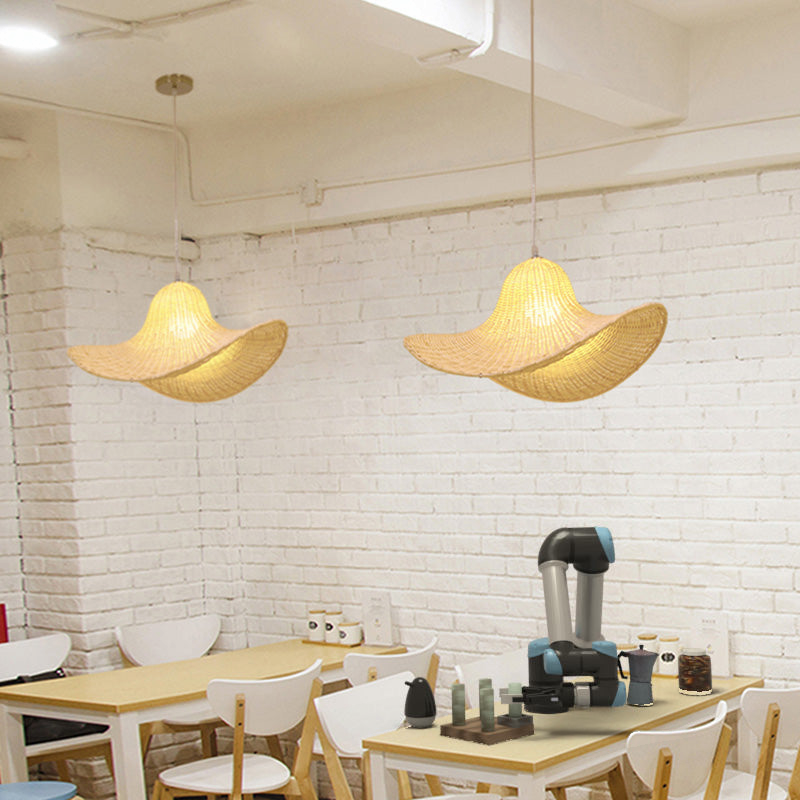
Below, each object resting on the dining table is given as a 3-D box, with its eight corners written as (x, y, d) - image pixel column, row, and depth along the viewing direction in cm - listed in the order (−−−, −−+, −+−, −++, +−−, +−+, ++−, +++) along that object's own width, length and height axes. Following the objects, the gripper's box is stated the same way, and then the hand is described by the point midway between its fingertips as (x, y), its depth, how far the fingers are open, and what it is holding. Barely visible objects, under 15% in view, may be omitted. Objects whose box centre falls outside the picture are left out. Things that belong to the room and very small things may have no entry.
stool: (440, 735, 355) (439, 685, 356) (485, 724, 368) (484, 676, 369) (488, 745, 340) (487, 692, 341) (534, 734, 354) (532, 683, 355)
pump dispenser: (398, 725, 371) (397, 676, 372) (427, 721, 375) (426, 673, 376) (413, 731, 362) (412, 681, 363) (442, 727, 366) (441, 677, 367)
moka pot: (666, 705, 392) (664, 645, 394) (624, 709, 388) (622, 648, 390) (653, 700, 401) (651, 641, 403) (612, 703, 397) (610, 644, 399)
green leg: (506, 723, 355) (505, 683, 355) (517, 721, 357) (516, 682, 357) (513, 726, 351) (512, 685, 352) (524, 724, 353) (524, 684, 354)
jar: (719, 693, 412) (718, 650, 413) (696, 697, 406) (694, 653, 407) (695, 688, 422) (693, 646, 423) (671, 692, 416) (670, 649, 417)
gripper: (578, 714, 342) (502, 716, 343) (570, 700, 365) (498, 701, 366) (577, 688, 343) (501, 690, 344) (569, 675, 365) (498, 676, 366)
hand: (500, 695), depth 355 cm, fingers open, 10 cm apart
